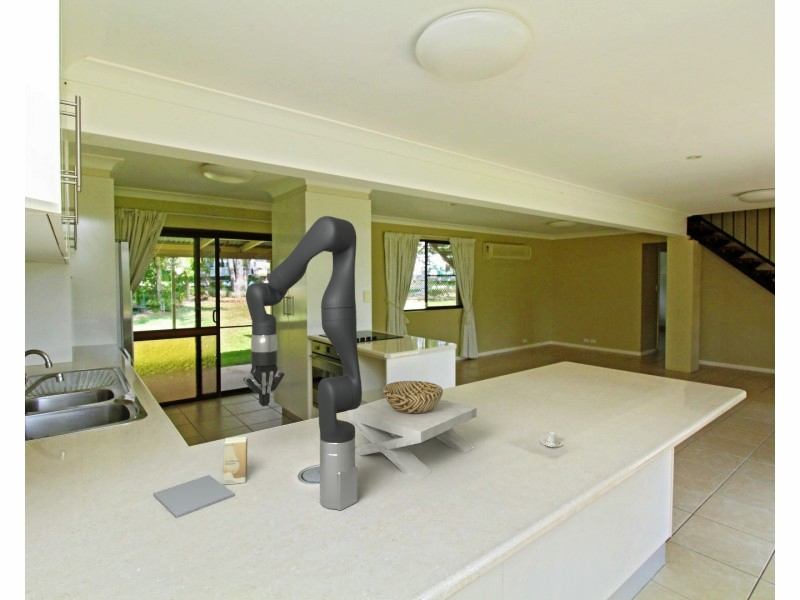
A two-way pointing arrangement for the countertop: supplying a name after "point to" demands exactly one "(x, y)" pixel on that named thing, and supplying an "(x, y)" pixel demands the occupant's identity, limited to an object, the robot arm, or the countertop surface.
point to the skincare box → (235, 460)
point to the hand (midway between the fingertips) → (264, 405)
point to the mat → (192, 495)
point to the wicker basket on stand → (410, 423)
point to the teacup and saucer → (551, 439)
